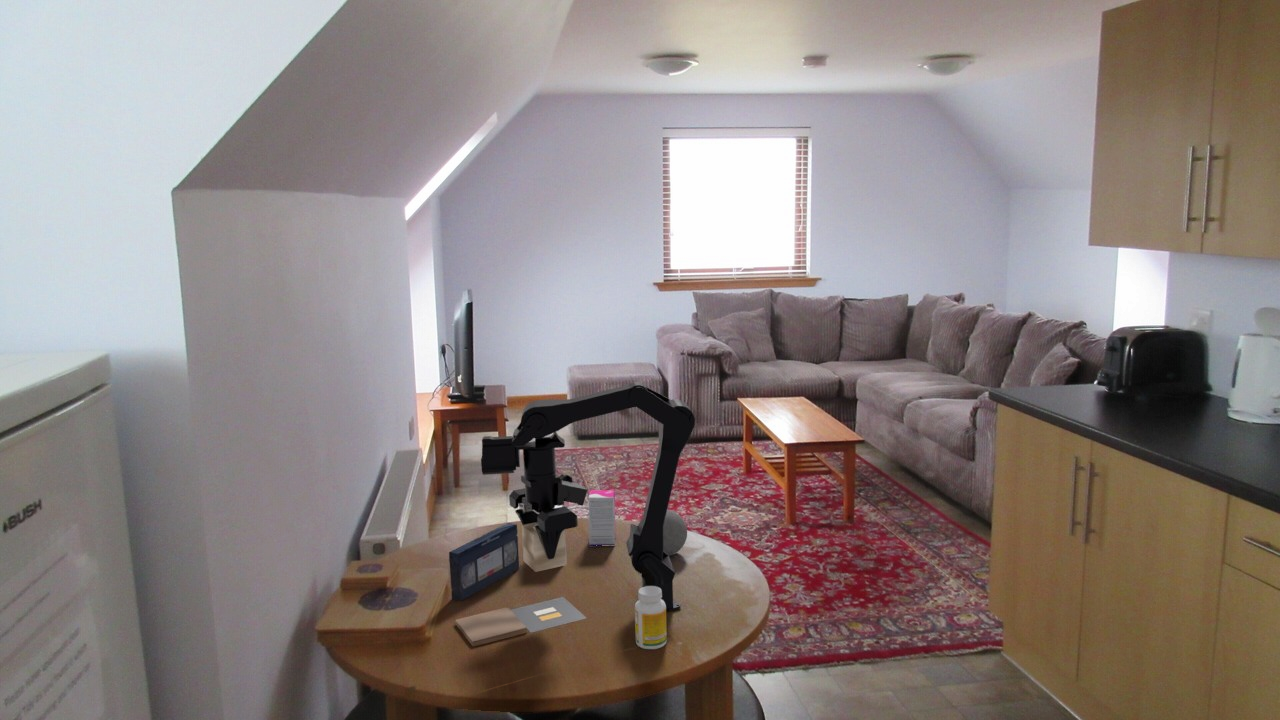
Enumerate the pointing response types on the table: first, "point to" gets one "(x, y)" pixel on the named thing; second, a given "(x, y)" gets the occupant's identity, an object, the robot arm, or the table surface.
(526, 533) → the maple block
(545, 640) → the table surface
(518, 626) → the walnut pad
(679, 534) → the decorative ball
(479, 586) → the vhs cassette tape
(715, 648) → the table surface
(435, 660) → the table surface
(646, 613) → the supplement bottle
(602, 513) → the supplement box
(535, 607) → the gray tile
